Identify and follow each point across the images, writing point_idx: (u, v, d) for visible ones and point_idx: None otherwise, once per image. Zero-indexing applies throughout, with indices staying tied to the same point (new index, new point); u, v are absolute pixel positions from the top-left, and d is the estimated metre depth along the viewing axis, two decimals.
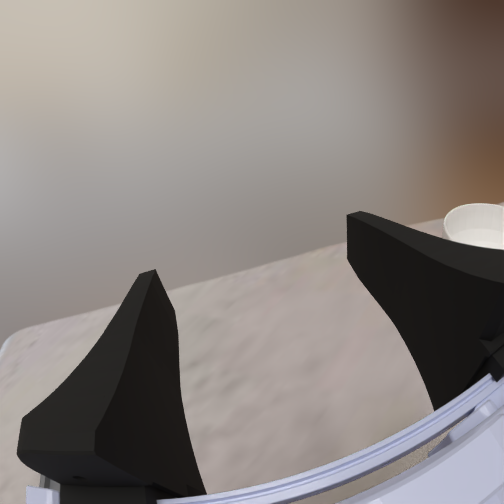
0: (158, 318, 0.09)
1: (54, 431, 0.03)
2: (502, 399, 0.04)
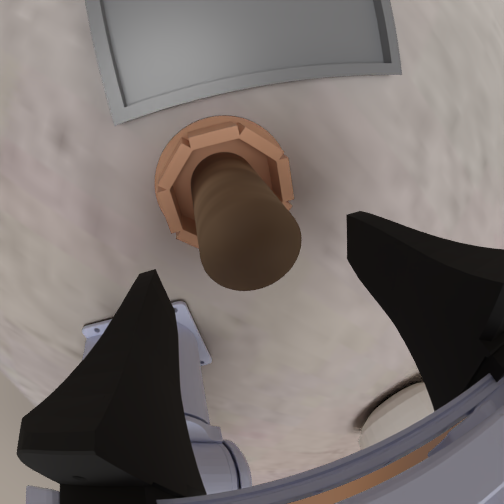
0: (158, 318, 0.09)
1: (54, 431, 0.03)
2: (502, 399, 0.04)
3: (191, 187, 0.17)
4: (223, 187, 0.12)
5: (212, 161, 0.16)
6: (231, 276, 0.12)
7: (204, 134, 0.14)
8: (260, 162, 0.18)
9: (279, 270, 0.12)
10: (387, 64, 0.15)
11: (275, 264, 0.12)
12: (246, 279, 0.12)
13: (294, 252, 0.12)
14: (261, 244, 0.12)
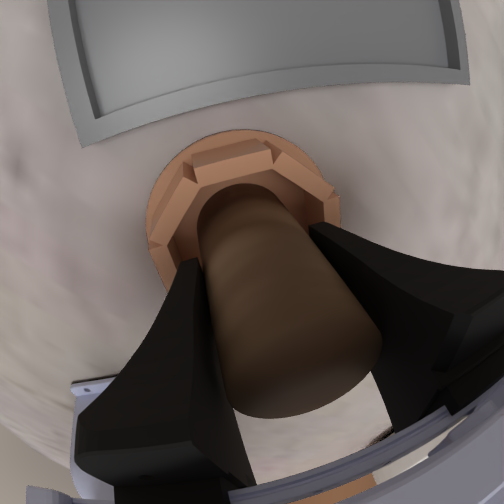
0: (205, 305, 0.09)
1: (130, 425, 0.03)
2: (502, 399, 0.04)
3: (198, 237, 0.12)
4: (260, 270, 0.07)
5: (230, 202, 0.11)
6: (272, 408, 0.07)
7: (219, 162, 0.10)
8: (294, 197, 0.13)
9: (341, 390, 0.08)
10: (456, 70, 0.10)
11: (337, 386, 0.07)
12: (293, 407, 0.07)
13: (366, 368, 0.07)
14: (324, 370, 0.07)
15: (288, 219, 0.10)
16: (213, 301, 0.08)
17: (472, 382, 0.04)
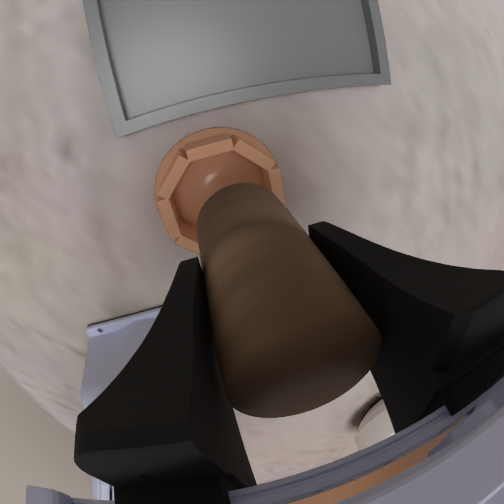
0: (205, 305, 0.09)
1: (130, 425, 0.03)
2: (502, 399, 0.04)
3: (198, 236, 0.12)
4: (259, 269, 0.07)
5: (230, 201, 0.11)
6: (271, 407, 0.07)
7: (200, 147, 0.16)
8: (254, 171, 0.19)
9: (340, 389, 0.08)
10: (376, 75, 0.16)
11: (336, 385, 0.07)
12: (292, 406, 0.07)
13: (365, 367, 0.07)
14: (323, 369, 0.07)
15: (287, 219, 0.10)
16: (212, 300, 0.08)
17: (472, 382, 0.04)
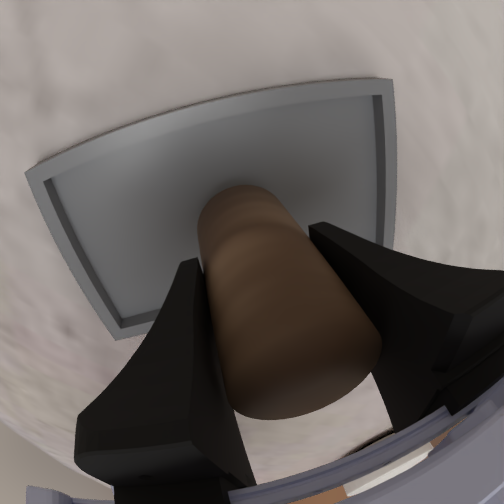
0: (205, 305, 0.09)
1: (129, 425, 0.03)
2: (502, 399, 0.04)
3: (199, 236, 0.12)
4: (264, 271, 0.07)
5: (233, 203, 0.11)
6: (271, 409, 0.07)
7: None
8: None
9: (339, 393, 0.08)
10: None
11: (335, 388, 0.07)
12: (291, 409, 0.07)
13: (365, 372, 0.07)
14: (324, 372, 0.07)
15: (290, 222, 0.10)
16: (215, 301, 0.08)
17: (472, 382, 0.04)
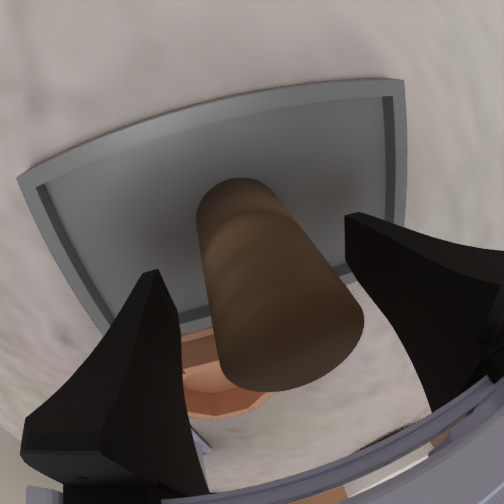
0: (161, 317, 0.09)
1: (58, 430, 0.03)
2: (502, 399, 0.04)
3: (198, 225, 0.13)
4: (254, 249, 0.08)
5: (229, 193, 0.12)
6: (261, 379, 0.08)
7: (196, 366, 0.16)
8: None
9: (326, 367, 0.08)
10: None
11: (322, 361, 0.08)
12: (281, 380, 0.08)
13: (350, 346, 0.08)
14: (310, 343, 0.08)
15: (281, 210, 0.11)
16: (210, 278, 0.09)
17: None
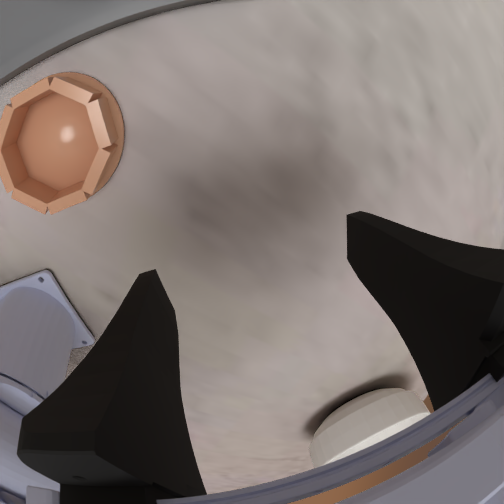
0: (158, 318, 0.09)
1: (54, 431, 0.03)
2: (502, 399, 0.04)
3: None
4: None
5: None
6: None
7: (21, 92, 0.10)
8: None
9: None
10: None
11: None
12: None
13: None
14: None
15: None
16: None
17: None
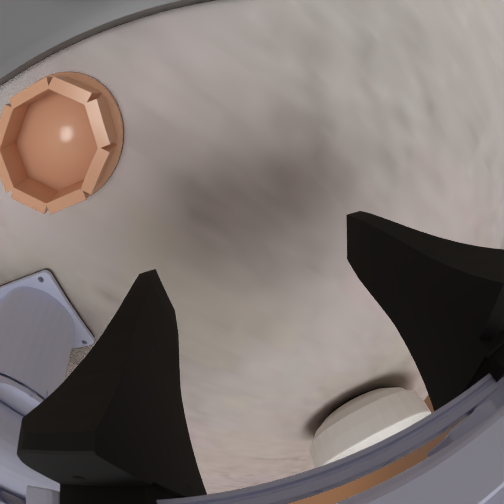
0: (158, 318, 0.09)
1: (54, 431, 0.03)
2: (502, 399, 0.04)
3: None
4: None
5: None
6: None
7: (21, 92, 0.10)
8: None
9: None
10: None
11: None
12: None
13: None
14: None
15: None
16: None
17: None
